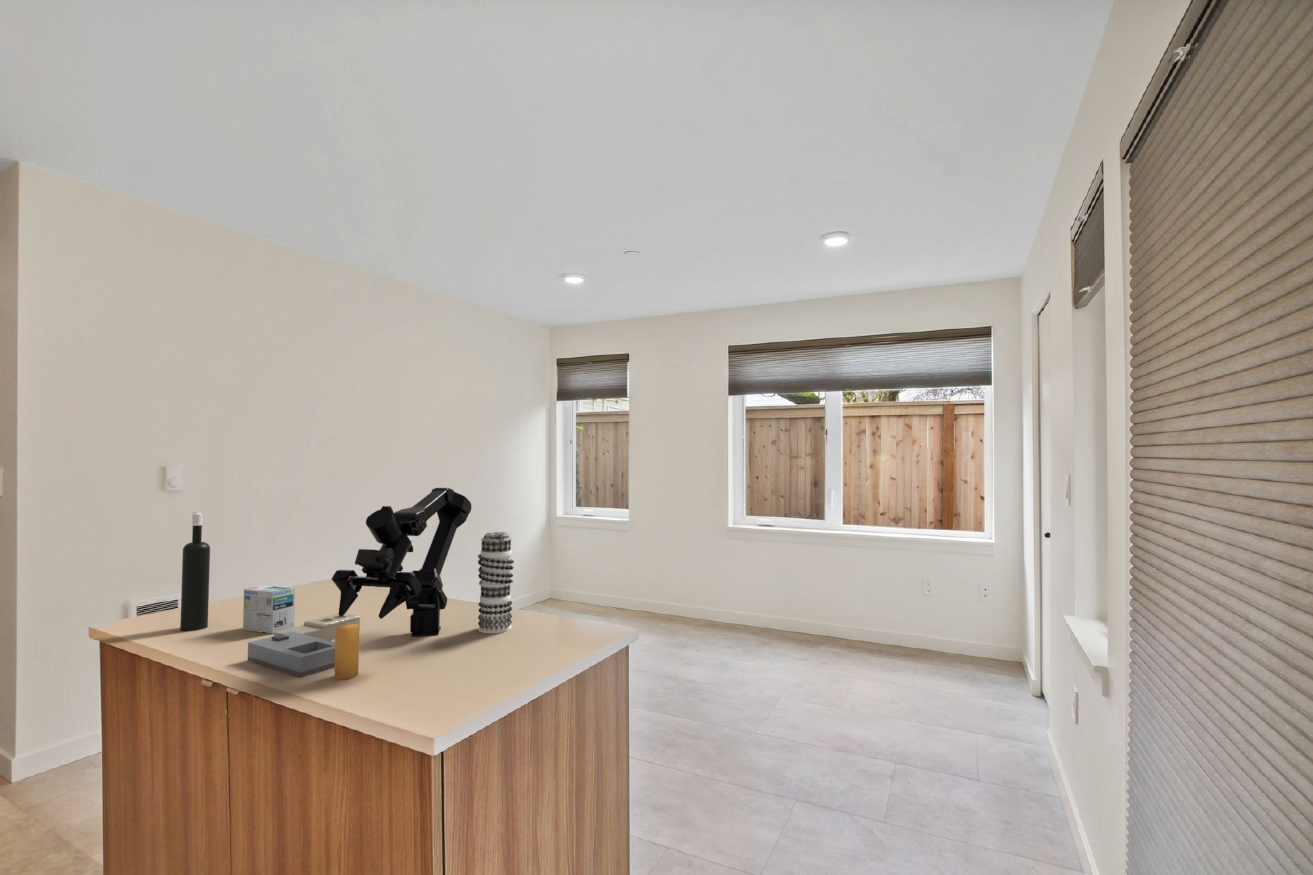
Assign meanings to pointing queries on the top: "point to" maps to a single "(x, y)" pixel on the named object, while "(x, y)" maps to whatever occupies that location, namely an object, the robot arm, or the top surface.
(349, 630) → the orange cylinder
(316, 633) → the electrical outlet
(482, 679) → the top surface
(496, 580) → the decorative candle
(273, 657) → the grey block with pocket
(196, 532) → the wine bottle
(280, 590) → the light bulb box
